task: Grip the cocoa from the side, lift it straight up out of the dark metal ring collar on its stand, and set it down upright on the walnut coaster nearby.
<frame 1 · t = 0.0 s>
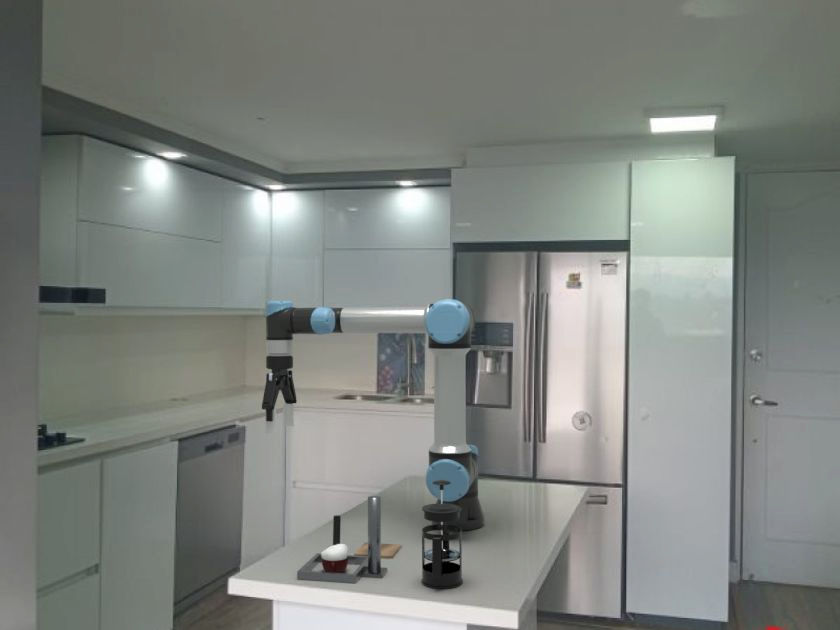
hand: (279, 429, 226), 28 cm above the counter, tool pointing down, fingers open, 13 cm apart
walnut coaster: (378, 551, 203), on the counter
french press: (441, 583, 179), on the counter
cocoa: (335, 572, 187), on the counter
ring stand: (335, 571, 187), on the counter
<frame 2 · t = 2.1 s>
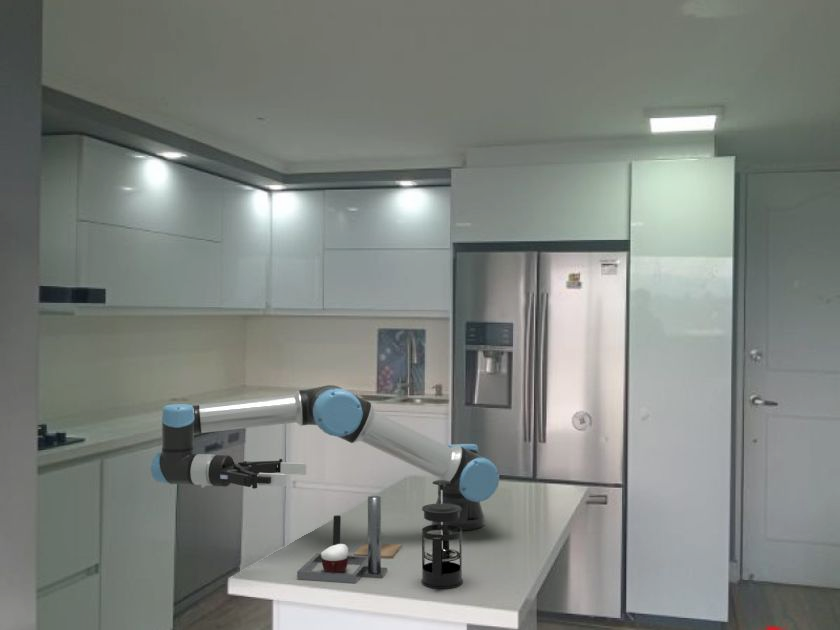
hand: (296, 474, 190), 23 cm above the counter, tool horizontal, fingers open, 13 cm apart
nothing on the counter moved.
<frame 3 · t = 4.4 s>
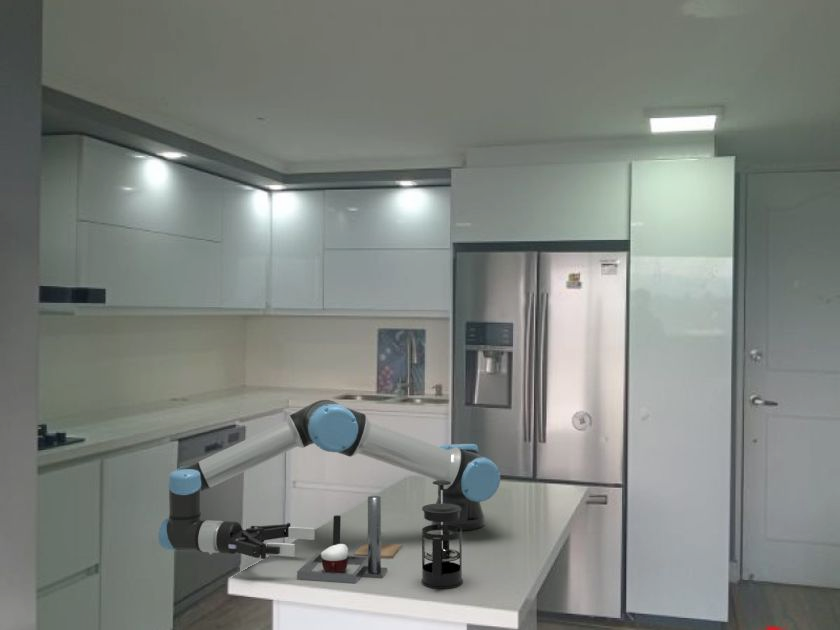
hand: (304, 541, 189), 7 cm above the counter, tool horizontal, fingers open, 13 cm apart
nothing on the counter moved.
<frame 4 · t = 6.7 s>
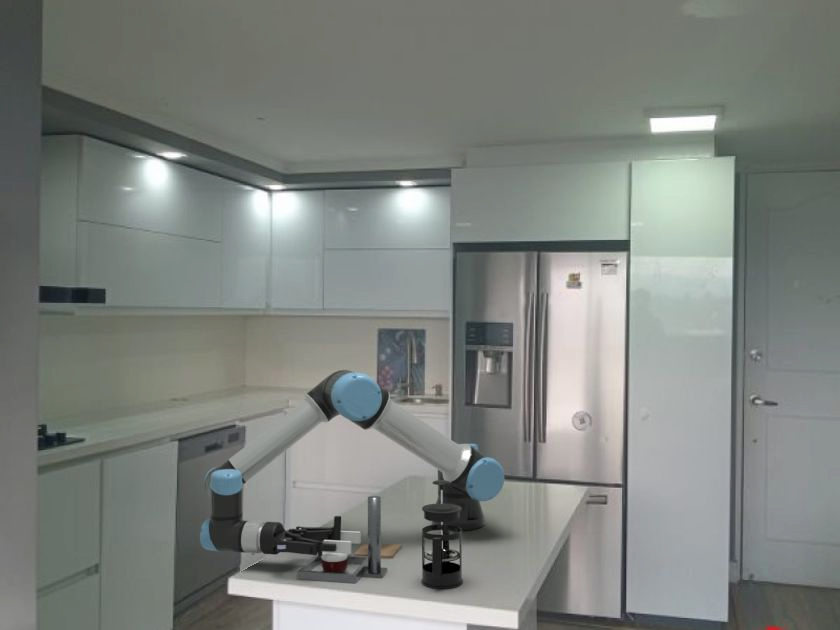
hand: (355, 542, 187), 7 cm above the counter, tool horizontal, fingers closed on cocoa, 7 cm apart
cocoa: (335, 573, 187), on the counter, touching gripper
everything else where it was.
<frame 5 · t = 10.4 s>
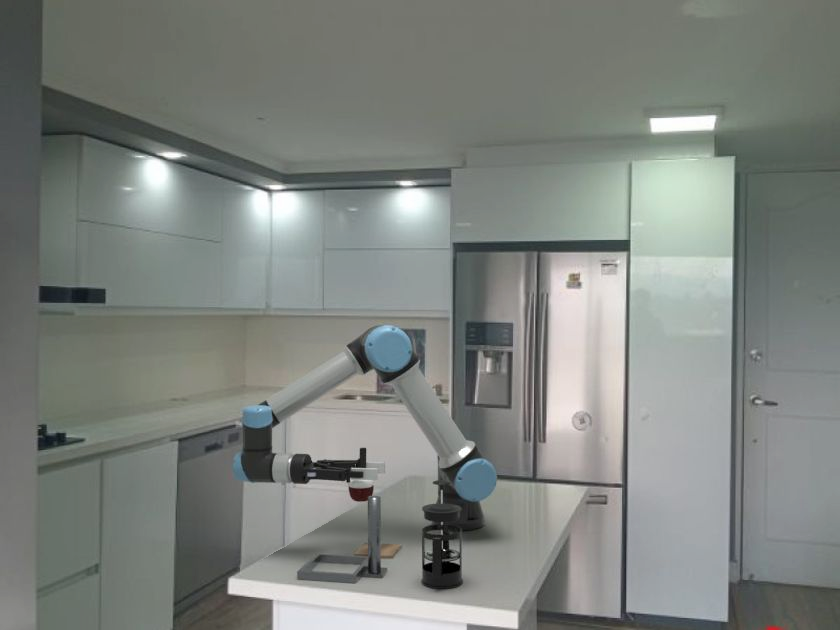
hand: (380, 471, 197), 22 cm above the counter, tool horizontal, fingers closed on cocoa, 7 cm apart
cocoa: (361, 500, 197), point 14 cm above the counter, touching gripper
everything else where it was.
when the fingers open (9 cm above the counter, at t = 13.8 s): cocoa drops 1 cm, resting on walnut coaster.
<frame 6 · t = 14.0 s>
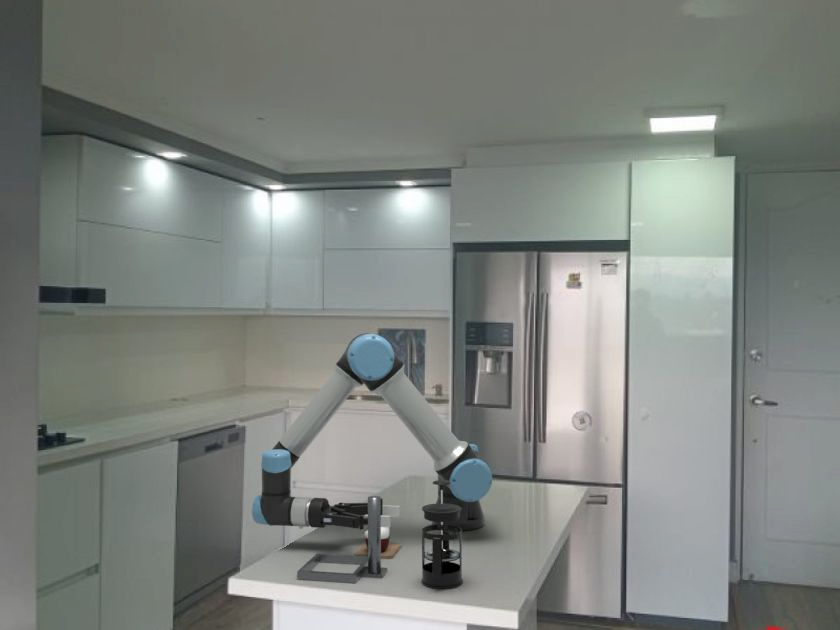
hand: (394, 516, 202), 9 cm above the counter, tool horizontal, fingers open, 9 cm apart
cocoa: (378, 550, 202), resting on walnut coaster
everything else where it was.
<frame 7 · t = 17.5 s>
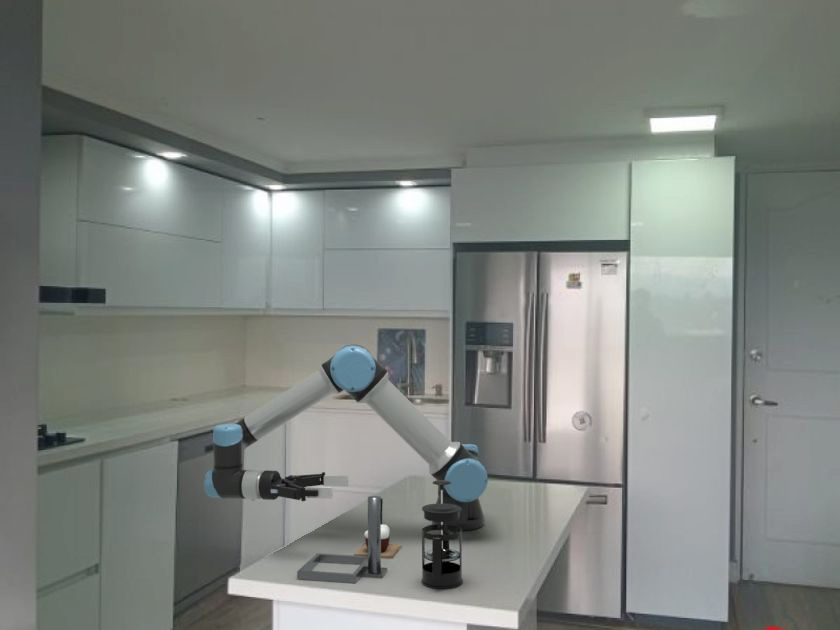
hand: (340, 486, 205), 16 cm above the counter, tool horizontal, fingers open, 13 cm apart
nothing on the counter moved.
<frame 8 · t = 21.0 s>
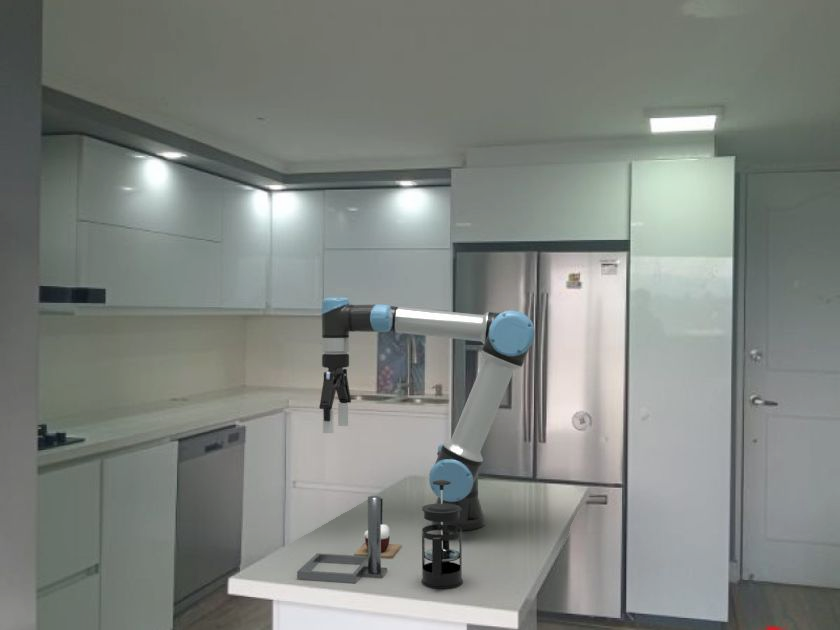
hand: (335, 429, 221), 29 cm above the counter, tool pointing down, fingers open, 13 cm apart
nothing on the counter moved.
at the end: cocoa inside the target area on the walnut coaster (0.7 cm from its centre), point 0.4 cm above the walnut coaster's base; cocoa tilted 0°; the gripper is holding nothing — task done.
